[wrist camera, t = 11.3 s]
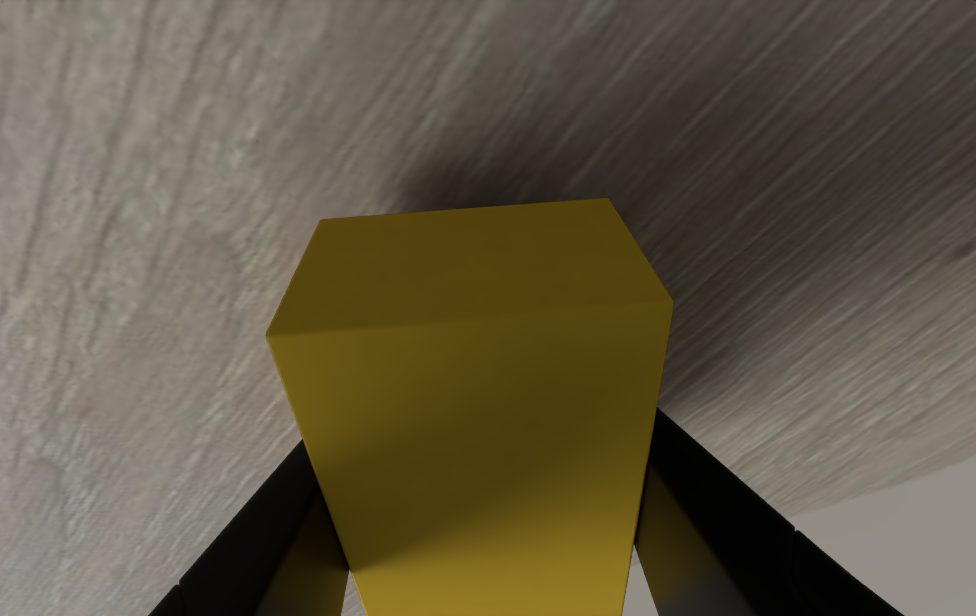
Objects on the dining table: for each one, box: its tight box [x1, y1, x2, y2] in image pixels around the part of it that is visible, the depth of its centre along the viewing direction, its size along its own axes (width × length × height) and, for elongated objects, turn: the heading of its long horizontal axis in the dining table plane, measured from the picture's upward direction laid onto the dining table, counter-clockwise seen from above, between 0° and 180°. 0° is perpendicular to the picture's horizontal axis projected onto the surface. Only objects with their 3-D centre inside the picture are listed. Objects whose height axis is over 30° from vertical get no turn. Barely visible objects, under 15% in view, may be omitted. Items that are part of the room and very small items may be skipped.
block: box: [266, 198, 674, 616], centre depth 9 cm, size 7×4×3 cm, turn 3°
